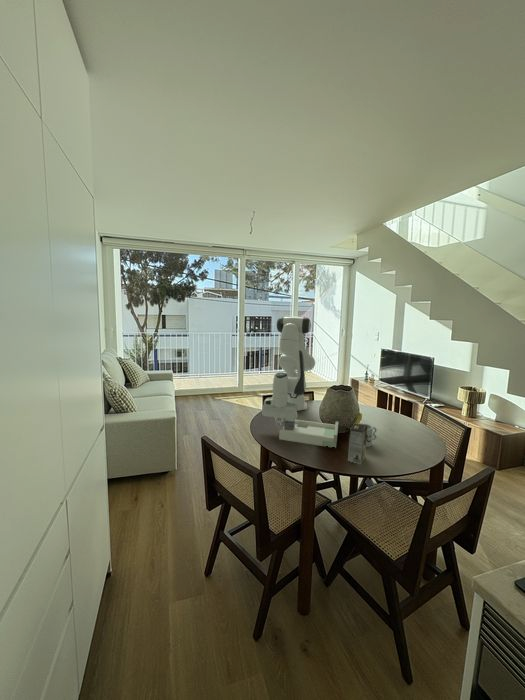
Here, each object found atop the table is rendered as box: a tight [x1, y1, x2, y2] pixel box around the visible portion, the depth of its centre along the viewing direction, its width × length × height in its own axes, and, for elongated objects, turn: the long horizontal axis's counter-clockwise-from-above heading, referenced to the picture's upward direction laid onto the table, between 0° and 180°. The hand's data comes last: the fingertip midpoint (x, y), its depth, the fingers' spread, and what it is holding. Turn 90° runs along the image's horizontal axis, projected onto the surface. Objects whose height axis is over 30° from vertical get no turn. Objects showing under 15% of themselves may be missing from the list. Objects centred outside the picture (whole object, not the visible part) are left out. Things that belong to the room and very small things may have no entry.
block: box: [283, 419, 295, 430], centre depth 173 cm, size 5×5×4 cm
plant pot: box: [354, 411, 363, 424], centre depth 183 cm, size 10×10×10 cm
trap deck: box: [278, 418, 339, 449], centre depth 170 cm, size 20×30×7 cm, turn 74°
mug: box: [359, 422, 378, 448], centre depth 162 cm, size 12×9×10 cm
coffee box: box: [347, 424, 367, 465], centre depth 144 cm, size 9×6×16 cm
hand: (278, 424), depth 174 cm, fingers closed
